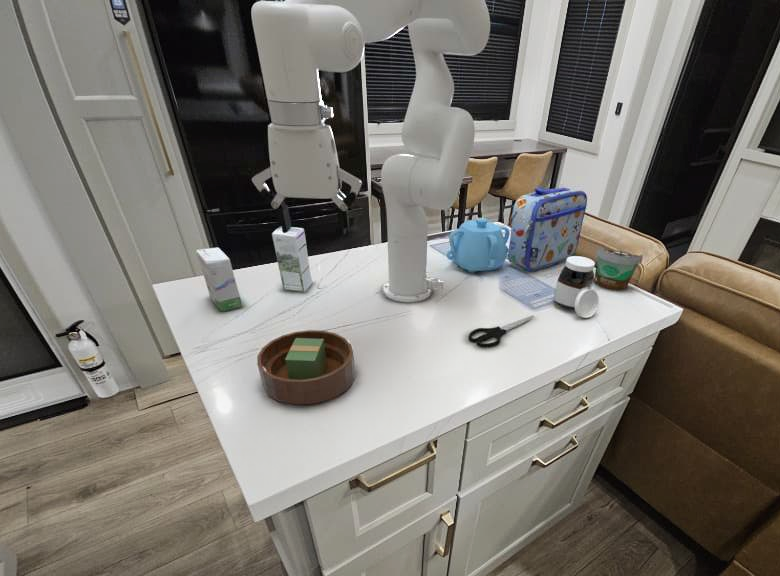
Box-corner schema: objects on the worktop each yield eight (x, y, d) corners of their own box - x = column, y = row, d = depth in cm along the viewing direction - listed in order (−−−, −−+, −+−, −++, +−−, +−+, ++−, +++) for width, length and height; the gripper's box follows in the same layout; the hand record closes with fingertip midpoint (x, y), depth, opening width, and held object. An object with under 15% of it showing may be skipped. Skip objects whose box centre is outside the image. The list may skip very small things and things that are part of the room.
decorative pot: (490, 281, 116) (497, 232, 108) (440, 267, 122) (443, 220, 113) (511, 263, 128) (519, 218, 120) (465, 251, 133) (469, 207, 125)
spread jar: (563, 293, 113) (573, 251, 106) (603, 306, 108) (617, 263, 101) (544, 309, 105) (554, 264, 98) (587, 324, 100) (600, 278, 93)
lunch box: (525, 278, 119) (540, 197, 106) (498, 267, 125) (509, 188, 112) (578, 258, 135) (597, 185, 121) (552, 248, 141) (567, 177, 127)
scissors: (521, 311, 103) (463, 337, 92) (521, 308, 102) (463, 334, 91) (542, 322, 99) (485, 351, 88) (543, 319, 98) (485, 347, 87)
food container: (586, 286, 118) (596, 251, 112) (588, 278, 122) (598, 244, 116) (631, 295, 114) (644, 260, 108) (632, 287, 119) (644, 253, 113)
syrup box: (313, 283, 109) (304, 227, 100) (304, 293, 104) (295, 235, 95) (291, 281, 109) (281, 224, 100) (282, 290, 104) (270, 232, 95)
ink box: (243, 307, 97) (230, 258, 89) (221, 312, 94) (205, 262, 87) (231, 293, 102) (218, 245, 94) (210, 298, 99) (194, 249, 92)
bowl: (360, 355, 84) (358, 331, 81) (347, 408, 71) (344, 383, 68) (279, 352, 83) (273, 328, 80) (250, 405, 70) (243, 379, 67)
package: (327, 365, 80) (323, 338, 76) (319, 388, 74) (314, 360, 71) (301, 364, 79) (295, 337, 76) (291, 387, 74) (284, 359, 70)
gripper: (359, 114, 65) (368, 225, 76) (245, 108, 64) (271, 222, 75) (352, 121, 59) (362, 240, 70) (227, 115, 58) (257, 237, 69)
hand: (315, 231), depth 72 cm, fingers open, 9 cm apart
